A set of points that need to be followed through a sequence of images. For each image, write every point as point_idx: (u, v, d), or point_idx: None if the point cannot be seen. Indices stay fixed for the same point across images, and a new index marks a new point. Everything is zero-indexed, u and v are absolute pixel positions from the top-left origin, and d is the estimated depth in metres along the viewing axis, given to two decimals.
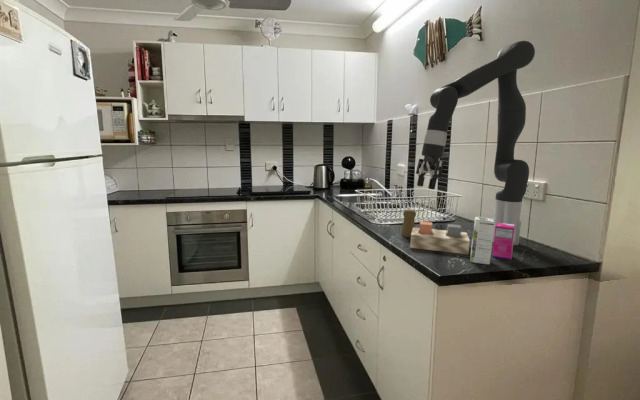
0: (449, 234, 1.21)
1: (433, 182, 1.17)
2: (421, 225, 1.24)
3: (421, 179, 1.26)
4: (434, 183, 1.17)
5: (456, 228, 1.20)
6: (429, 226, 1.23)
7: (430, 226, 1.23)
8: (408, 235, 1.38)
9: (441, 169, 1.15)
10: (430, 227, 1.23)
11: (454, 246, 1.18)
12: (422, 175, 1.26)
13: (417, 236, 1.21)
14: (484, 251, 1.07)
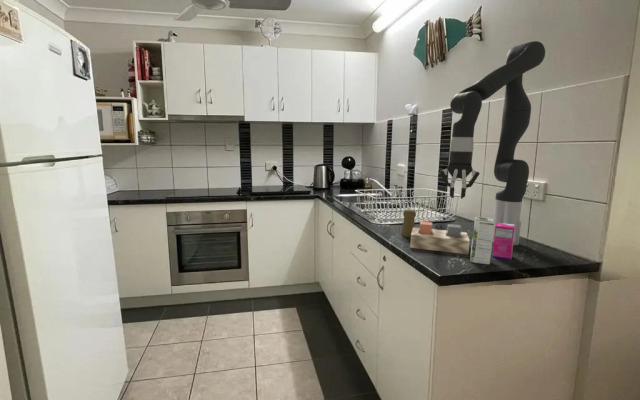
0: (449, 234, 1.21)
1: None
2: (421, 225, 1.24)
3: None
4: None
5: (456, 228, 1.20)
6: (429, 226, 1.23)
7: (430, 226, 1.23)
8: (408, 235, 1.38)
9: None
10: (430, 227, 1.23)
11: (454, 246, 1.18)
12: (453, 186, 1.21)
13: (417, 236, 1.21)
14: (484, 251, 1.07)
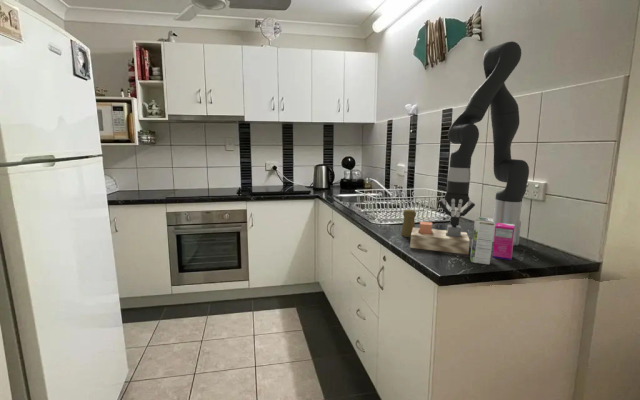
0: (449, 235, 1.21)
1: (458, 220, 1.21)
2: (421, 225, 1.24)
3: None
4: (458, 220, 1.22)
5: (456, 229, 1.20)
6: (429, 226, 1.23)
7: (430, 226, 1.23)
8: (408, 235, 1.38)
9: None
10: (430, 227, 1.23)
11: (454, 246, 1.18)
12: (454, 215, 1.22)
13: (417, 236, 1.21)
14: (484, 251, 1.07)
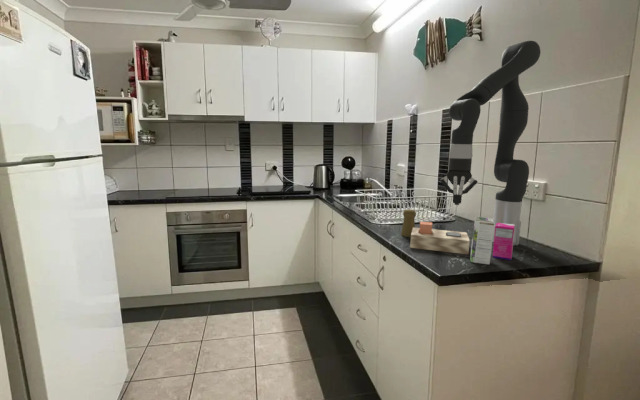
0: None
1: None
2: (421, 225, 1.24)
3: (457, 197, 1.21)
4: (461, 198, 1.20)
5: (455, 236, 1.21)
6: (429, 226, 1.23)
7: (430, 226, 1.23)
8: (408, 235, 1.38)
9: None
10: (430, 227, 1.23)
11: (454, 246, 1.18)
12: (456, 193, 1.21)
13: (417, 236, 1.21)
14: (484, 251, 1.07)
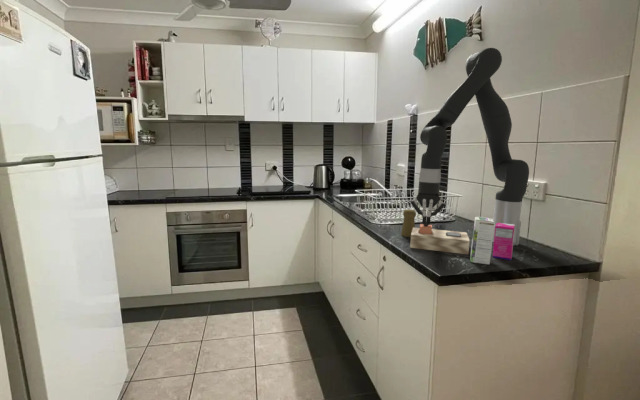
0: None
1: None
2: (421, 228, 1.24)
3: None
4: None
5: (455, 236, 1.21)
6: (429, 229, 1.23)
7: (430, 229, 1.23)
8: (408, 235, 1.38)
9: None
10: (430, 230, 1.23)
11: (454, 246, 1.18)
12: None
13: (417, 236, 1.21)
14: (484, 251, 1.07)
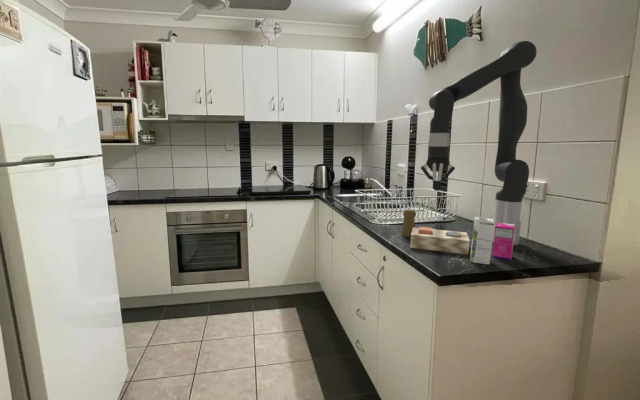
0: None
1: (440, 184, 1.27)
2: (421, 231, 1.25)
3: None
4: (440, 184, 1.28)
5: (455, 236, 1.21)
6: (429, 232, 1.24)
7: (430, 232, 1.24)
8: (408, 235, 1.38)
9: None
10: (430, 233, 1.24)
11: (454, 246, 1.18)
12: None
13: (417, 236, 1.21)
14: (484, 251, 1.07)
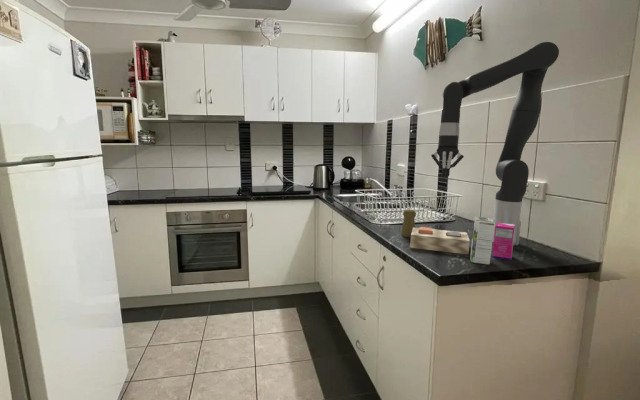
0: None
1: (449, 171, 1.35)
2: (421, 231, 1.25)
3: None
4: None
5: (455, 236, 1.21)
6: (429, 232, 1.24)
7: (430, 232, 1.24)
8: (408, 235, 1.38)
9: None
10: (430, 233, 1.24)
11: (454, 246, 1.18)
12: (445, 167, 1.35)
13: (417, 236, 1.21)
14: (484, 251, 1.07)
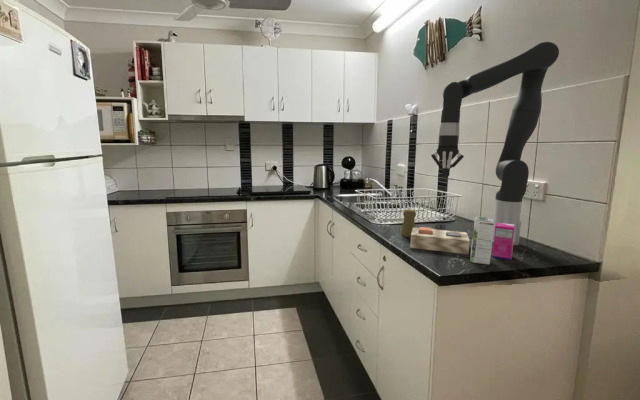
0: None
1: (449, 171, 1.35)
2: (421, 231, 1.25)
3: None
4: None
5: (455, 236, 1.21)
6: (429, 232, 1.24)
7: (430, 232, 1.24)
8: (408, 235, 1.38)
9: None
10: (430, 233, 1.24)
11: (454, 246, 1.18)
12: (445, 167, 1.35)
13: (417, 236, 1.21)
14: (484, 251, 1.07)
